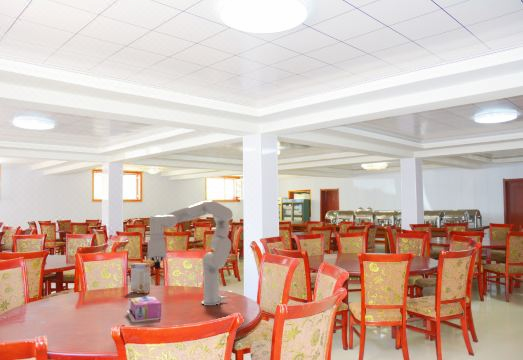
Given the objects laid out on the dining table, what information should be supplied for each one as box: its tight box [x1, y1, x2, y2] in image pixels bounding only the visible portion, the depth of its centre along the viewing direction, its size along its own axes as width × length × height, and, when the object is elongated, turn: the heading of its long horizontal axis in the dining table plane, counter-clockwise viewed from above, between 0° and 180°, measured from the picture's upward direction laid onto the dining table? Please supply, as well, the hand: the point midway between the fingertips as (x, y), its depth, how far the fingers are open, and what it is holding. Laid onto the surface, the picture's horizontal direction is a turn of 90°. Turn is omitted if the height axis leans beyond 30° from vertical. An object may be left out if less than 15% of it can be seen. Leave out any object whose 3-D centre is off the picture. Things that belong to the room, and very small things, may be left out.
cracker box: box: [130, 262, 151, 294], centre depth 302 cm, size 14×6×21 cm, turn 58°
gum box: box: [128, 295, 162, 320], centre depth 233 cm, size 24×8×14 cm
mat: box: [126, 310, 161, 323], centre depth 233 cm, size 14×26×1 cm, turn 24°
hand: (157, 268), depth 243 cm, fingers closed
